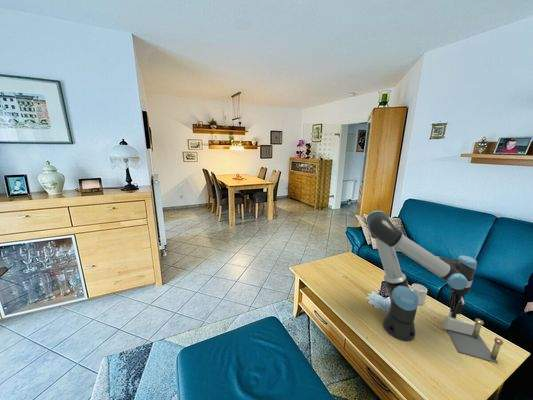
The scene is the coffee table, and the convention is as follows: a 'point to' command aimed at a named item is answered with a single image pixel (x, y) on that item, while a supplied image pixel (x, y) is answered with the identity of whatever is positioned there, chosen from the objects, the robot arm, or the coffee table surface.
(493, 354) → the brass capped rod
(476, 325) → the hinge post
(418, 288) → the cup
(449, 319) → the beige piece
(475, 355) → the mat
